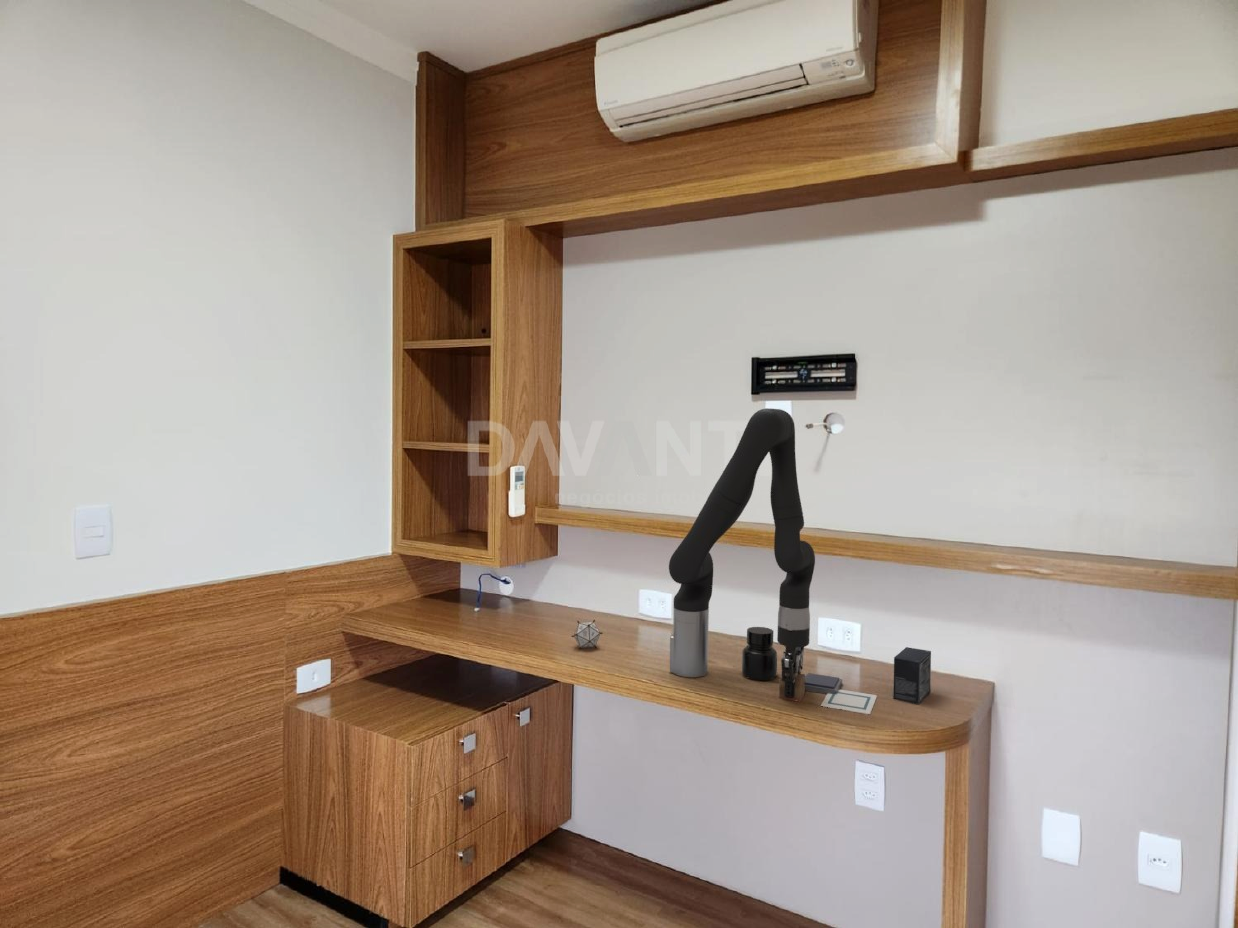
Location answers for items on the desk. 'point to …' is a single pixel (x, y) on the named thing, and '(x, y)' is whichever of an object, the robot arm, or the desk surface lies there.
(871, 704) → the sheet
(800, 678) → the stamp
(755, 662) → the ink bottle
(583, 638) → the game die
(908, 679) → the small box
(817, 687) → the ink pad
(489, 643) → the desk surface
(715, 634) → the desk surface
